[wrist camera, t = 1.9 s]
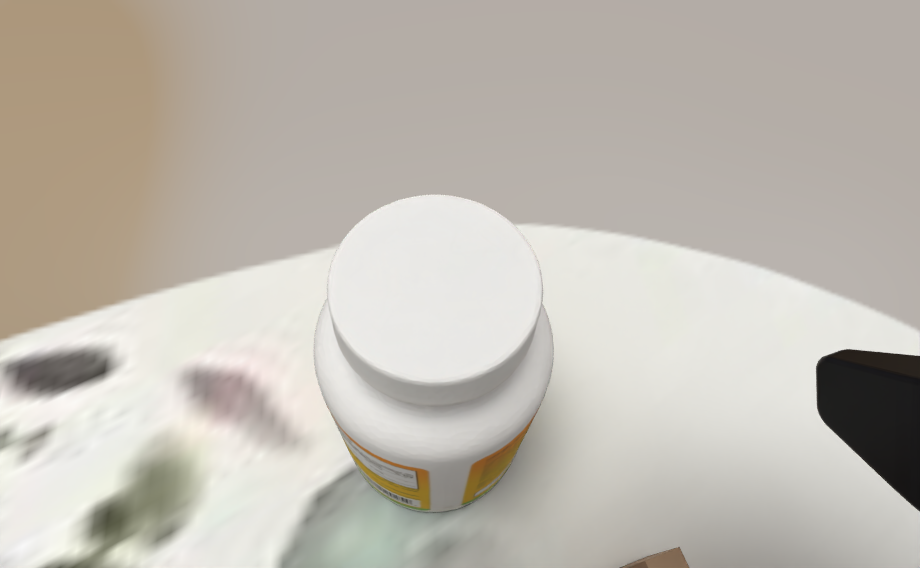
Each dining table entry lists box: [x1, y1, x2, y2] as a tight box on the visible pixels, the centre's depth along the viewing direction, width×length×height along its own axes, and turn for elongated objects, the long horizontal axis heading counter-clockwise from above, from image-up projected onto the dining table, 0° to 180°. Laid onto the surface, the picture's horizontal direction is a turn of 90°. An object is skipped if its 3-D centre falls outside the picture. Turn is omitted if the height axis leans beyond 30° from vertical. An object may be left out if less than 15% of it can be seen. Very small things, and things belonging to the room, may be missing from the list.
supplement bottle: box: [314, 195, 554, 512], centre depth 15 cm, size 5×5×10 cm
